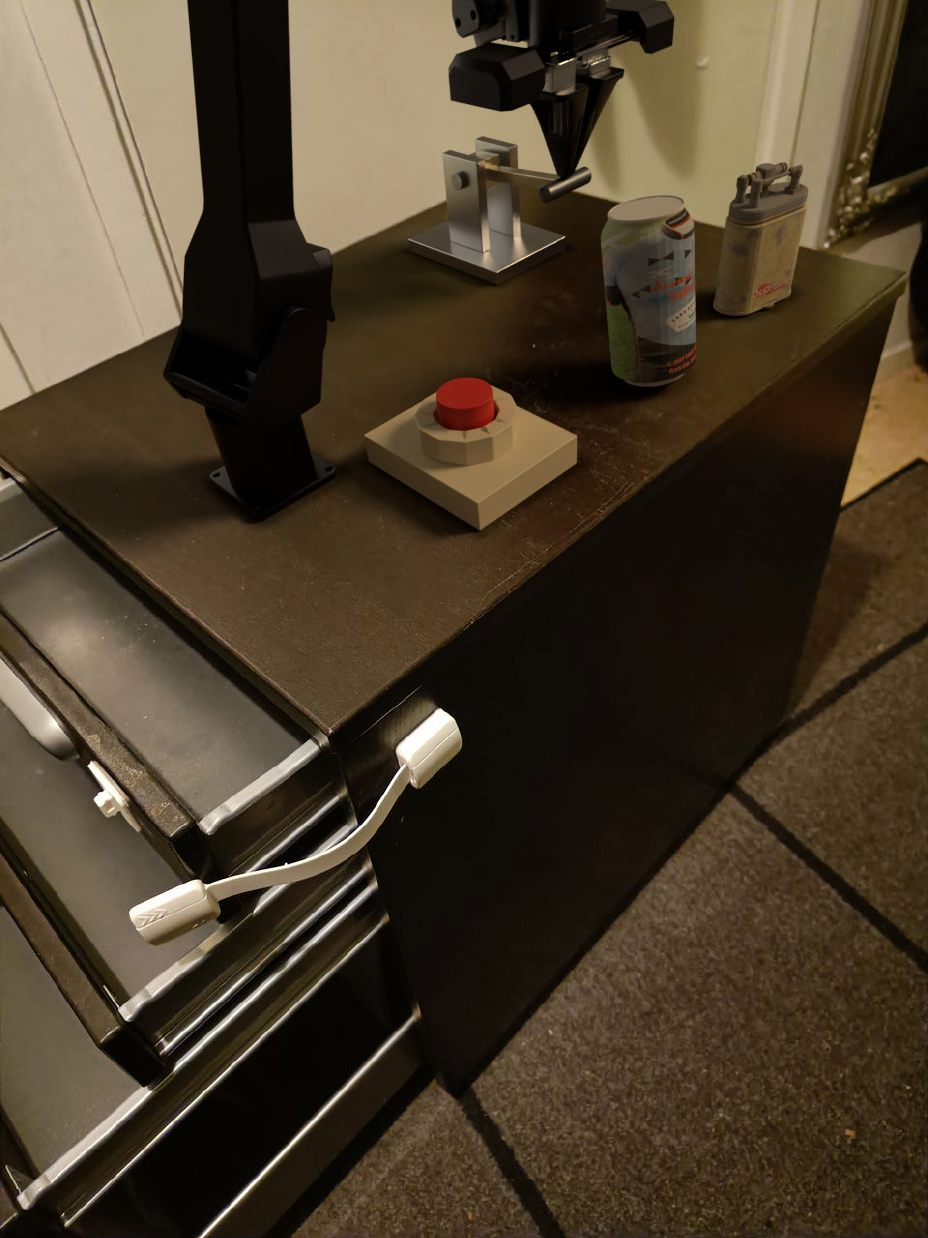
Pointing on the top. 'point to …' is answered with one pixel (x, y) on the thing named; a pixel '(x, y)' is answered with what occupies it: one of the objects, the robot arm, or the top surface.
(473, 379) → the button
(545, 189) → the lever
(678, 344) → the beverage can
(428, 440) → the button box
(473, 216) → the bracket
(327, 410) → the top surface
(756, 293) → the lighter
